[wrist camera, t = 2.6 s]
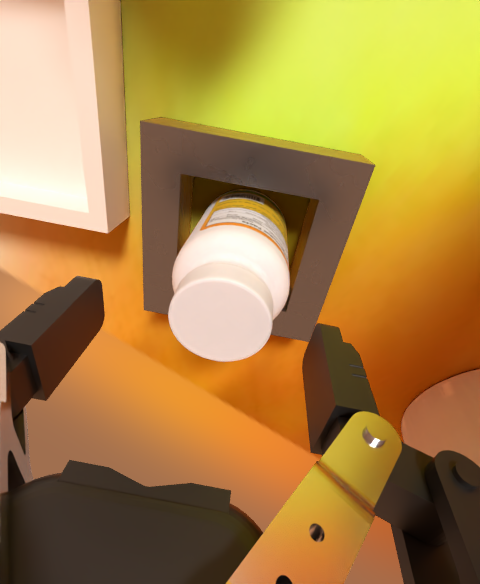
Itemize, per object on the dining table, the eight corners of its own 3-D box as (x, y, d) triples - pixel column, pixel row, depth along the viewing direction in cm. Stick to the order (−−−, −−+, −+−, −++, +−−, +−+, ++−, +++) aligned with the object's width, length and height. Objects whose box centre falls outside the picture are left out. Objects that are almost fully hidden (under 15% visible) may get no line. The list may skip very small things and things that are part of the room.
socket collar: (360, 154, 17) (375, 164, 14) (305, 314, 23) (308, 341, 20) (161, 117, 17) (140, 120, 14) (158, 286, 23) (143, 310, 20)
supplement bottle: (239, 281, 22) (214, 392, 14) (185, 223, 20) (120, 311, 12) (304, 237, 20) (320, 339, 11) (250, 167, 18) (225, 228, 9)
